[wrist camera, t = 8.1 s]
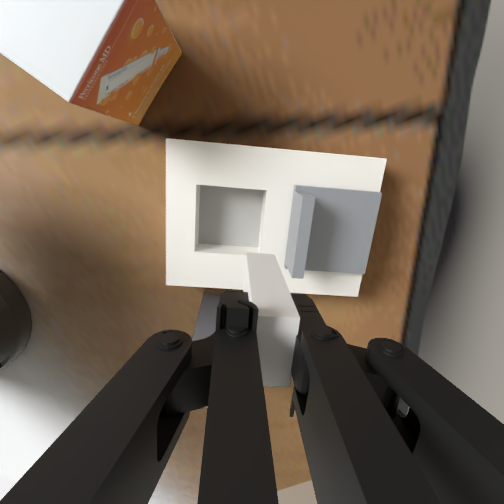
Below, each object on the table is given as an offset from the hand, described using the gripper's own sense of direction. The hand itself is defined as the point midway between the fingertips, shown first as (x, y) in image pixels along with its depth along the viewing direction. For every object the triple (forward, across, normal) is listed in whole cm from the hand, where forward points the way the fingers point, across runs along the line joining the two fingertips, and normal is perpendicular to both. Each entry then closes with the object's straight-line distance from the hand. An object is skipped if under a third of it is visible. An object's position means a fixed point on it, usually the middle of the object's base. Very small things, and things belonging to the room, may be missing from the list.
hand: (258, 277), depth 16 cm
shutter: (+13, +8, 0) cm, 15 cm away
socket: (+17, +2, 0) cm, 18 cm away
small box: (+18, -12, +13) cm, 25 cm away
